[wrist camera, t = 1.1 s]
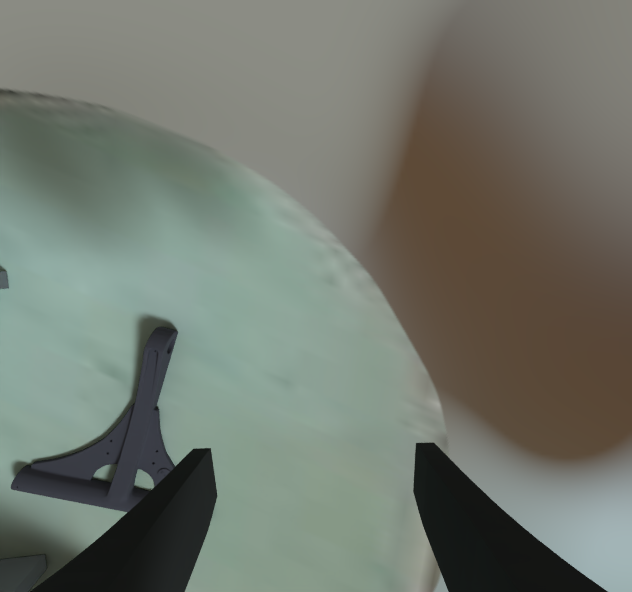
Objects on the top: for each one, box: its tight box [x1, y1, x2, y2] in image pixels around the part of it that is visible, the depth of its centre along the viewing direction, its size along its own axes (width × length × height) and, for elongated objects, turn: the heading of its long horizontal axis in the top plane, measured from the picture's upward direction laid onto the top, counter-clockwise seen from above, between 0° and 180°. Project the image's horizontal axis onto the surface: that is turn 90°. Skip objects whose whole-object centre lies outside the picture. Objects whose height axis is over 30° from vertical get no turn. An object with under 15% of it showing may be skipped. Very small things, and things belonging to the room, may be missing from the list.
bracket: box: [11, 327, 178, 512], centre depth 22 cm, size 14×15×3 cm
